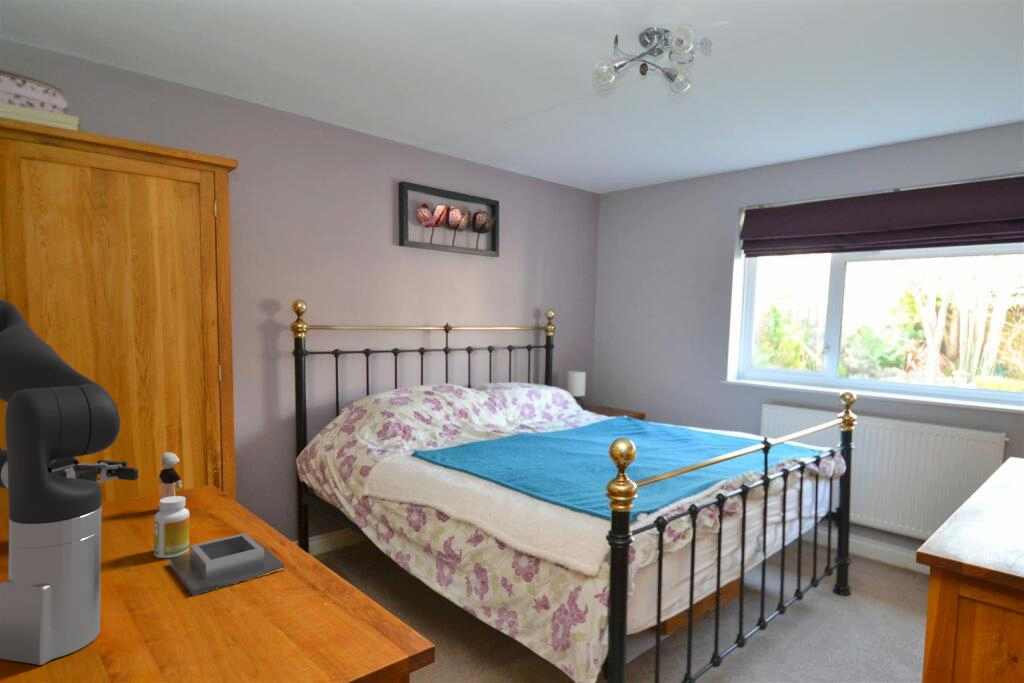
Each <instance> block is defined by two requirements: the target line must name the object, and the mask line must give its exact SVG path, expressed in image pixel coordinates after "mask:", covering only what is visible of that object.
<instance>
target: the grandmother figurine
mask: <svg viewBox="0 0 1024 683" xmlns="http://www.w3.org/2000/svg"><path fill="white" fill-rule="evenodd" d="M161 460H162V461H161V467H162V469H161V470H160V473H159V475H158V482H157V483H158V484H159V485H161V486H162V488H161V492H160V498H159V501H160V500H161V499H163V498H166V497H171V496H176V489H177V490H178V489H179V490H181V489H182V488H183V485H182V477H181V476H180V475H179V473H178V472H177V471H176V469H175V468H174V467H175V466H176V464H177V463H179V462H180V458H179V457H178V456H177V454H176V453H174V452H172V451H171V452H170V451H169V452H164V453H163V454H162V455H161ZM175 485H176V489H175ZM155 510H156V511H157V512H159V511H161V510H160V509H159V505H158V506H157V507H156V509H155Z"/></svg>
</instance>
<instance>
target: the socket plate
mask: <svg viewBox="0 0 1024 683" xmlns="http://www.w3.org/2000/svg"><path fill="white" fill-rule="evenodd" d="M168 562H169V563H168V565H169V567H170V568H171V569H172V570H173V572H174V573H175V575H176V576H177V578H179V581H180V582H181V583H182V584H183V585H184V587H185V586H186V587H185V588H186V589H187V591H188V590H189V591H188V592H189V594H190V595H191V596H192V597H196V596H199V595H202V594H201V593H203V594H205V593H204V592H206V593H208V592H207V591H210V590H213V589H216V588H220V589H222V588H221V587H224V586H227V585H230V584H234V583H237V582H241V581H244V580H247V579H251V578H254V577H257V576H260V575H263V574H266V573H269V572H272V571H275V570H278V569H280V568H284V569H285V563H283V561H281V560H280V559H279V558H277V557H276V556H275V555H274V553H272V552H270V551H269V550H268V549H267V548H266V547H265V546H264V545H262V543H260V542H259V541H257V540H256V538H252V537H251V536H250V535H249V534H247V533H246V532H244V533H240V534H235V535H231V536H226V537H221V538H218V539H214V540H213V539H212V540H208V541H205V542H204V541H203V542H200V543H195V544H192V545H190V544H189V554H183V555H180V556H177V557H171V558H168ZM241 583H242V582H241ZM234 585H235V584H234ZM227 587H228V586H227ZM224 588H225V587H224ZM213 591H214V590H213ZM210 592H211V591H210ZM198 594H199V595H198ZM195 595H196V596H195Z"/></svg>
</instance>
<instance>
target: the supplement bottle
mask: <svg viewBox="0 0 1024 683" xmlns="http://www.w3.org/2000/svg"><path fill="white" fill-rule="evenodd" d="M158 506H159V509H160V510H161V511H157V512H156V513H155V516H154V521H153V522H154V524H153V526H154V530H153V533H154V534H153V554H154V556H155V557H156V558H158V559H171V558H176V557H180V556H183V555H185V554H186V553H188V551H190V516H191V515H190V510H189V509H188V508H185V506H186V497H185V496H182V495H175V496H171V497H166V498H163V499H161V500H160V499H159V504H158Z"/></svg>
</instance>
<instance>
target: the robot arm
mask: <svg viewBox="0 0 1024 683" xmlns="http://www.w3.org/2000/svg"><path fill="white" fill-rule="evenodd" d="M0 400H1V401H3V402H5V403H7V404H6V408H5V415H4V416H5V417H4V432H5V442H6V443H5V444H6V446H5V447H6V449H2V446H1V445H0V489H7V491H8V492H7V493H8V579H7V580H5V581H3V582H1V583H0V660H6V661H11V662H19V663H23V664H24V663H25V664H32V665H37V666H42V665H45V664H46V663H48V662H50V661H51V660H54V659H57V658H60V657H65V656H67V655H69V654H72V653H74V652H76V651H78V650H81V649H83V648H84V647H86V646H87V645H90V643H92V642H93V641H94V640H95V639H97V637H98V636H99V634H100V632H101V581H102V580H101V577H102V576H101V574H102V571H101V570H102V569H101V567H102V566H101V565H102V564H101V562H102V557H101V556H102V509H103V508H102V504H103V503H102V501H103V500H102V499H103V498H102V496H103V495H102V488H101V486H100V483H101V484H103V483H105V482H107V480H126V481H137V480H138V479H139V469H138V468H137V467H130V466H128V462H127V461H118V460H105V459H99V460H97V461H96V463H90V462H89V463H88V462H79V461H78V460H77V457H83V456H84V457H85V456H89V455H92V454H96V453H97V454H98V453H99V452H102V451H105V450H106V449H108V448H110V447H111V446H112V445H113V444H114V443H115V441H116V440H117V438H118V436H119V433H120V429H121V419H120V418H121V417H120V414H119V409H118V407H117V405H116V403H115V401H114V399H113V397H112V396H111V394H109V392H108V391H107V390H106V389H105V388H104V387H103V386H101V385H100V384H98V383H97V382H95V381H93V380H92V379H90V378H88V377H86V376H85V375H83V374H81V373H80V372H78V371H77V370H76V369H74V368H73V367H72V366H71V365H70V364H68V363H67V362H66V361H65V360H63V359H62V357H61V356H60V355H59V354H58V353H57V352H56V351H55V350H54V349H53V348H52V347H51V346H50V345H49V344H47V342H46V341H44V340H42V339H41V337H39V336H38V335H37V334H36V333H35V332H34V330H33V329H32V328H31V327H30V326H29V324H28V322H27V321H26V320H25V318H24V316H23V314H22V313H21V311H20V310H19V309H18V308H17V306H16V305H14V304H13V303H12V302H9V301H8V300H4V299H0ZM98 475H100V476H101V477H100V478H98Z"/></svg>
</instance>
